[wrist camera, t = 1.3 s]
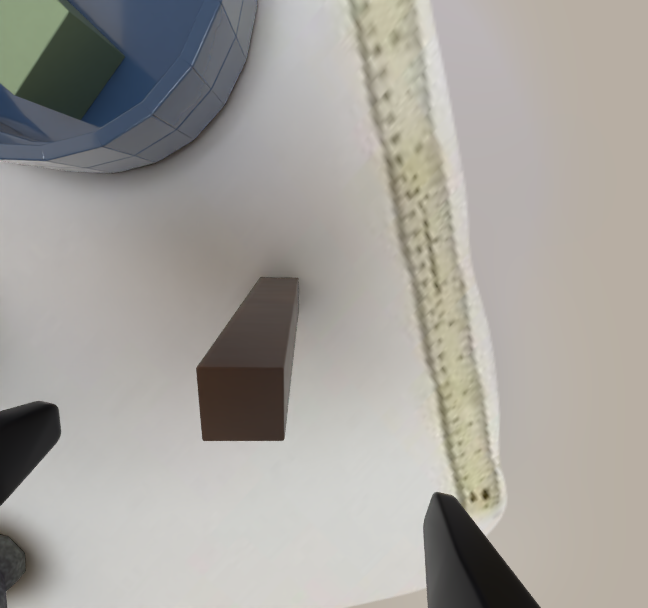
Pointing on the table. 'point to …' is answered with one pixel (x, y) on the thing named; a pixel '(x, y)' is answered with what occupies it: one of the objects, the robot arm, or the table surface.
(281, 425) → the dark brown bar
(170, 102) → the bowl
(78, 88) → the sage block
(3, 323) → the table surface
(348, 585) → the table surface
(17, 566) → the mortar and pestle
